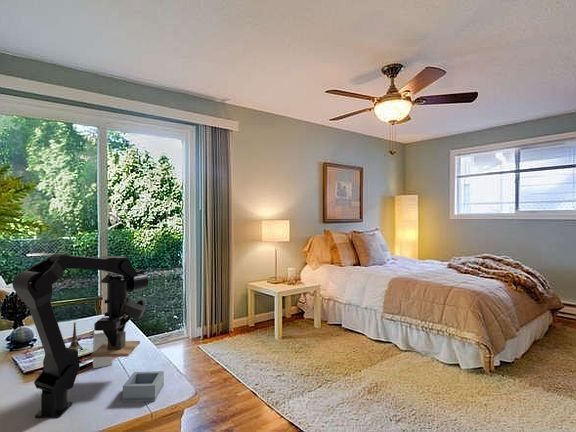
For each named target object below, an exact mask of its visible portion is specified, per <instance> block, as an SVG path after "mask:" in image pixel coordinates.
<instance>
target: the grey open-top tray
mask: <svg viewBox="0 0 576 432" xmlns="http://www.w3.org/2000/svg"><path fill="white" fill-rule="evenodd" d="M164 373H165V371H134V372H133V373H132V374H131V375H130V376H129V377H128V379H127V380H126V382H124V384H123V385H122V403H137V402H155V401H156V400H157V398H158V396H159V395H160V392H161V391H162V390H161V389H163V388H164V386H165V385H164V381H165V374H164Z"/></svg>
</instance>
